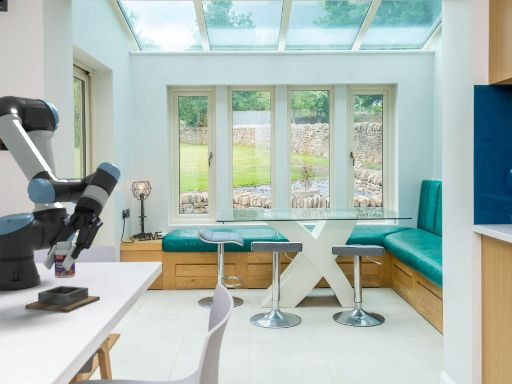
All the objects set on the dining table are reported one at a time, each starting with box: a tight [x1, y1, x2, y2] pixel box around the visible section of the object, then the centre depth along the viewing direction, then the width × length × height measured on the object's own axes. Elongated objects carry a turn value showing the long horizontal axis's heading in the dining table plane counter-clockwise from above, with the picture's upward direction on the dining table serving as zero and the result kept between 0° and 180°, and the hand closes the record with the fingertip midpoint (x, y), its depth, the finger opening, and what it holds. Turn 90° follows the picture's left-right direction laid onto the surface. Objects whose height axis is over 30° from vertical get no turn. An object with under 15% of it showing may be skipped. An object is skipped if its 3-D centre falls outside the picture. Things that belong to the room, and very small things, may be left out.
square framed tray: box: [25, 285, 101, 313], centre depth 141 cm, size 14×14×4 cm
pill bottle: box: [54, 241, 76, 279], centre depth 140 cm, size 5×5×10 cm
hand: (56, 267), depth 137 cm, fingers closed on pill bottle, 5 cm apart
